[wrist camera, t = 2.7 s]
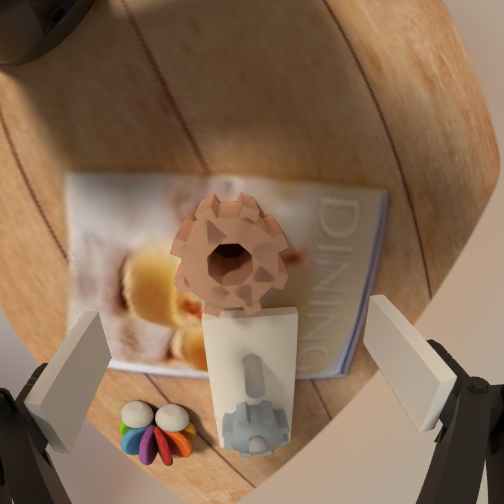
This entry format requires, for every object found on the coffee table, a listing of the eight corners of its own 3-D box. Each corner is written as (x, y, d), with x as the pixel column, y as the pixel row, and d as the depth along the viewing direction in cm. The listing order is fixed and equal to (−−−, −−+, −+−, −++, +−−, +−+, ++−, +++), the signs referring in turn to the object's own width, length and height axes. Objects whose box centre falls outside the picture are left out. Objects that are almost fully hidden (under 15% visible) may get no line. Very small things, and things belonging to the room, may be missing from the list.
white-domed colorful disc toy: (198, 440, 37) (196, 483, 31) (129, 434, 37) (119, 475, 30) (195, 399, 35) (191, 446, 28) (117, 392, 34) (102, 436, 27)
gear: (187, 286, 30) (178, 318, 24) (178, 196, 27) (165, 210, 21) (277, 281, 30) (288, 313, 24) (276, 191, 27) (289, 203, 22)
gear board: (220, 439, 37) (220, 474, 32) (202, 311, 31) (198, 347, 25) (288, 434, 38) (295, 468, 32) (295, 306, 31) (309, 340, 26)
